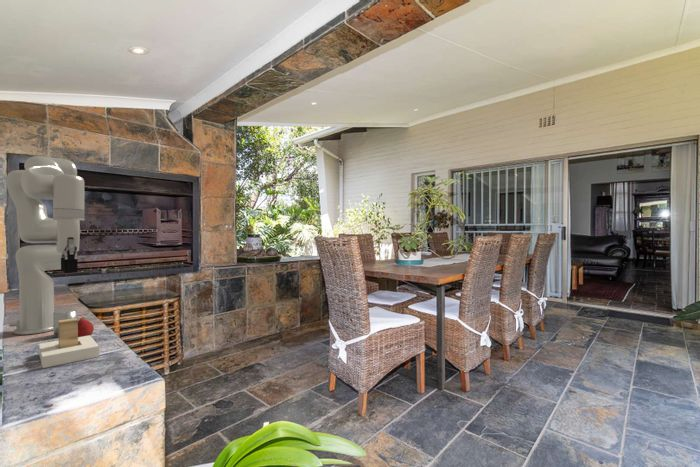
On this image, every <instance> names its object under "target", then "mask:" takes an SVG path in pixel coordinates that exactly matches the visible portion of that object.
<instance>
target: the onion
mask: <svg viewBox="0 0 700 467" xmlns="http://www.w3.org/2000/svg"><path fill="white" fill-rule="evenodd" d="M94 328H95V327H94V324H93V323H92V322H91V321H89V320H88V319H86V317H85V316H81V317H80V319H78V337H83V336H89V335H90V336H92V334H93V333H94V330H95V329H94Z"/></svg>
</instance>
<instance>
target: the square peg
mask: <svg viewBox="0 0 700 467" xmlns="http://www.w3.org/2000/svg"><path fill="white" fill-rule="evenodd" d="M78 321H79V319H78V320H77V319H76V318H74V319H67V320H60V321H59V337H58V341H59V349H61V348H67V347H72V346H78Z"/></svg>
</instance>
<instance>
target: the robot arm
mask: <svg viewBox="0 0 700 467" xmlns="http://www.w3.org/2000/svg"><path fill="white" fill-rule="evenodd" d="M23 166H24V169H19V170H18V169H16V170H11V171H10V172H9V173H8V174H7V175H6V188H7V192H8V194H9V197H10V199H11V200H12V203H13V204H14V206H15V208H16V217H17V228H18V236H19V238H20V239H21V241H22V242H24V243H31V244H30V245H25V246H22V247H20V248H19V249H17V251H16V252H15V262H16V266H17V272H18V284H19V285H18V286H19V288H18V289H19V291H18V292H19V319H15V320H13V319H12V320H11V321H10V323H9V324H8V326H9V327H16V329H14V330H13V334H14V335H18V336H20V335H21V336H23V335H34V334H40V333H46V332H51V331H54V322H53V313H55V283H54V280H53V278H52V277H51V276H50V275H48V274H47V273H46V272H45V271H51V270H52V271H53V270H61V271H63V273H64V274H72V273H76V274H77V273H78V269H79V268H78V261H79V260H78V252H79V251H80V237H81V236H80V235H81V233H80V232H81V226H80V224H81V223H80V222H81V221H85V180H84V178H83V176H82V177H81V176H79V175H78V170H77V169H78V168H77V166H76V164H75V163H74V161H71V160H70V159H65V158H60V157H59V158H58V157H52V156H44V155H33V156H30V157H29V158H27V159H26V160H25V162H24V165H23ZM42 200H52V208H53V209H52V217H48V212H47V211H48V209H47V207H46V205H45V204H44V203H43V201H42ZM32 243H33V244H32ZM38 243H39V244H38ZM41 243H42V244H41ZM44 243H45V244H44ZM47 243H49V244H47ZM50 243H52V244H50ZM54 243H56V244H54Z"/></svg>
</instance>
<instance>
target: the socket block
mask: <svg viewBox="0 0 700 467" xmlns="http://www.w3.org/2000/svg"><path fill="white" fill-rule="evenodd" d="M38 356H39V359H40V364H41V367H42V369H47V368H50V367H55V366H56V367H57V366H60V365H61V366H62V365H66V364H70V363H74V362H80V361H84V360H89V359H93V358H98V357H100V345H99V344H98V343H97V342H96V340H94V338H93V337H92V335H89V336H83V337H78V346H72V347H67V348H61V349H59V340H54V341H53V340H52V341H48V342H42V343H38Z"/></svg>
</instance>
